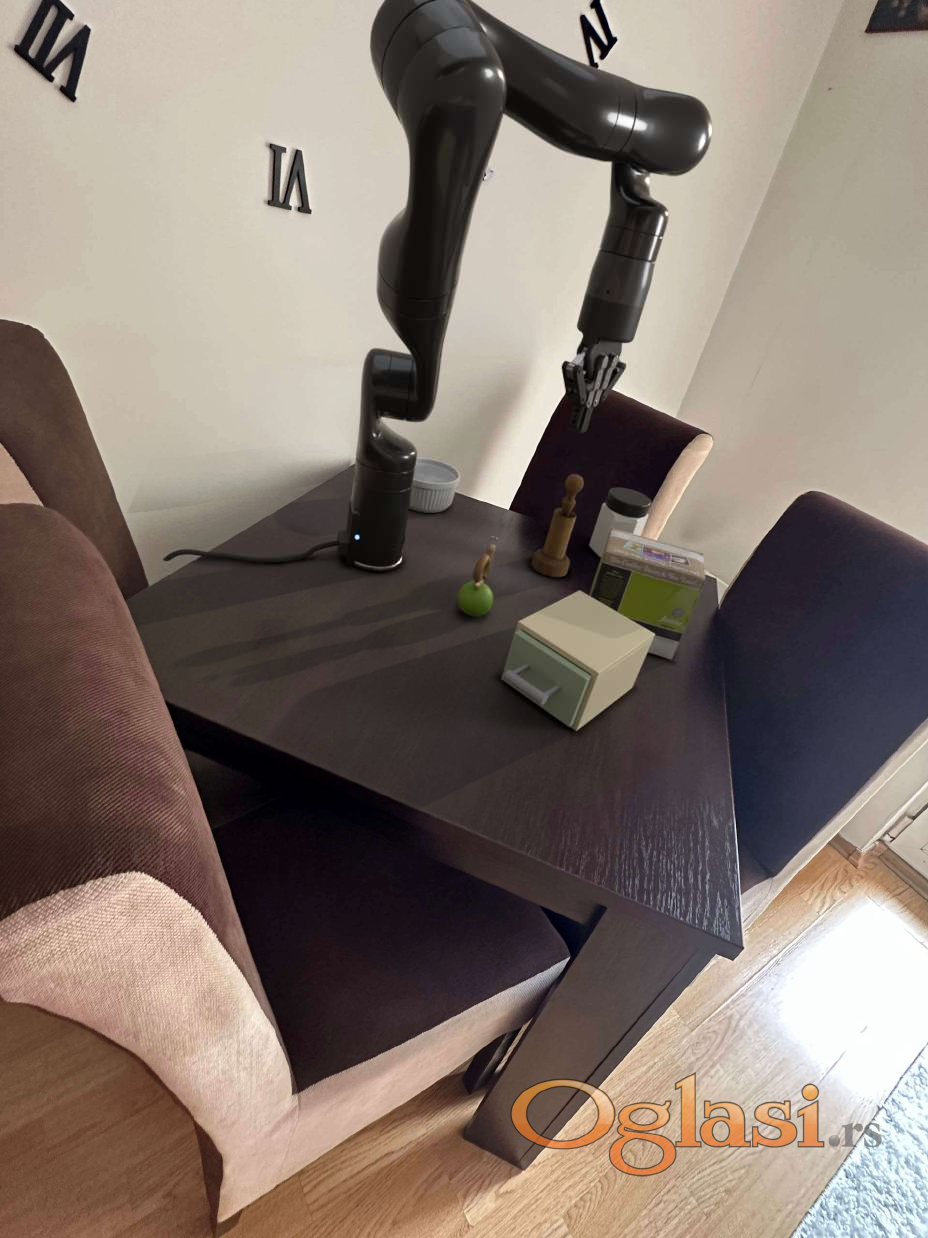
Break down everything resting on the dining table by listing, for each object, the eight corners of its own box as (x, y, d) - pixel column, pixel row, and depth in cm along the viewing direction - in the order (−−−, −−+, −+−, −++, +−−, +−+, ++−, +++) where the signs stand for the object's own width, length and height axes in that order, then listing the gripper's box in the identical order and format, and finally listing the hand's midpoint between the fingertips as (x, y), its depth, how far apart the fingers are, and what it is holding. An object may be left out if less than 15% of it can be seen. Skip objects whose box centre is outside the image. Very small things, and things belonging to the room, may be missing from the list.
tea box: (672, 629, 108) (706, 552, 100) (671, 662, 100) (708, 580, 92) (584, 602, 110) (611, 524, 102) (576, 632, 102) (605, 549, 94)
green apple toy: (495, 607, 104) (512, 541, 97) (483, 627, 98) (500, 558, 92) (463, 596, 104) (478, 530, 98) (449, 615, 99) (464, 546, 93)
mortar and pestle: (566, 563, 121) (594, 473, 111) (567, 580, 116) (597, 487, 106) (531, 556, 121) (557, 464, 111) (531, 572, 115) (557, 478, 106)
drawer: (549, 742, 79) (567, 693, 75) (480, 691, 84) (493, 643, 80) (622, 686, 91) (641, 642, 87) (557, 645, 96) (572, 601, 92)
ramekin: (382, 506, 127) (386, 472, 123) (398, 482, 138) (403, 451, 134) (447, 522, 126) (454, 489, 122) (459, 497, 137) (465, 466, 133)
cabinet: (576, 731, 83) (598, 673, 78) (501, 678, 89) (518, 621, 84) (632, 687, 93) (655, 633, 87) (561, 643, 99) (579, 590, 94)
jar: (603, 537, 134) (622, 483, 128) (638, 554, 130) (659, 499, 124) (581, 548, 128) (600, 492, 121) (617, 566, 124) (638, 509, 118)
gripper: (613, 302, 75) (572, 446, 84) (665, 305, 84) (622, 435, 93) (561, 286, 79) (527, 426, 88) (616, 290, 88) (580, 417, 97)
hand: (576, 431), depth 91 cm, fingers closed
